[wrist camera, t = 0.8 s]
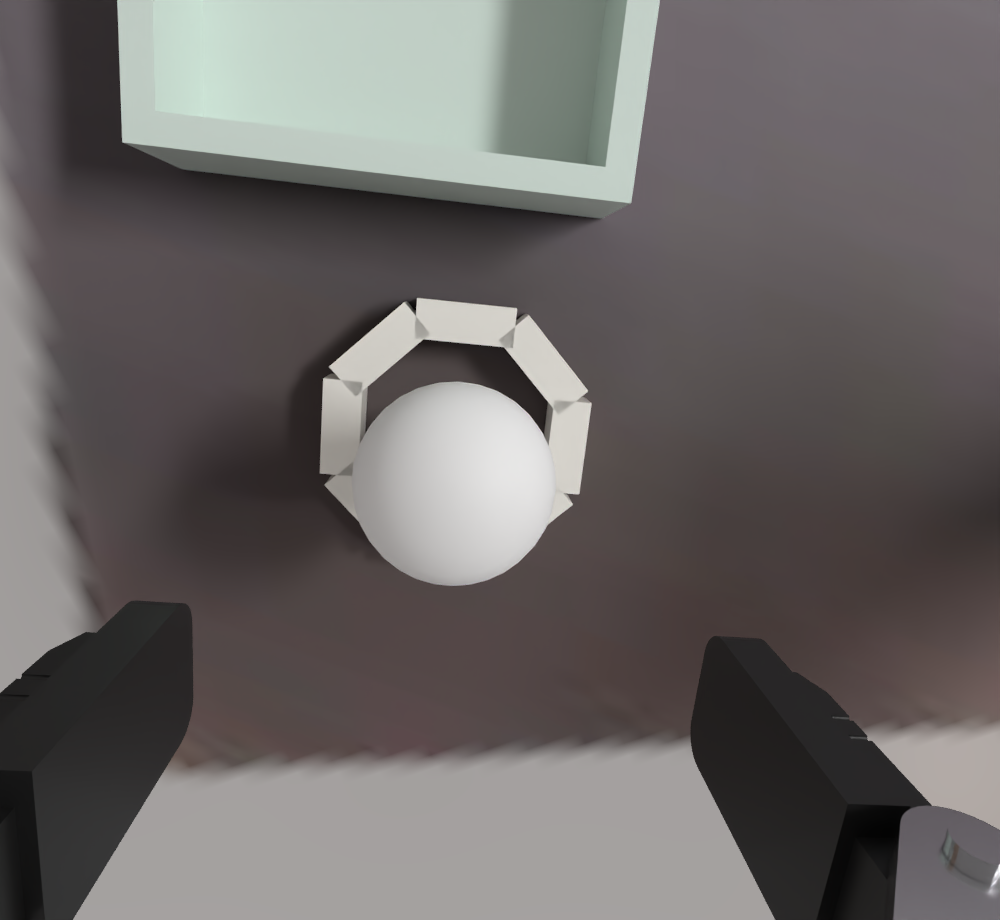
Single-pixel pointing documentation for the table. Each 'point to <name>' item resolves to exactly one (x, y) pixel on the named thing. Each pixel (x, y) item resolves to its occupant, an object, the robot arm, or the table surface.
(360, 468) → the lightbulb
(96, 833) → the robot arm
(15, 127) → the table surface
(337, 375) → the socket collar
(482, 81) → the bin
